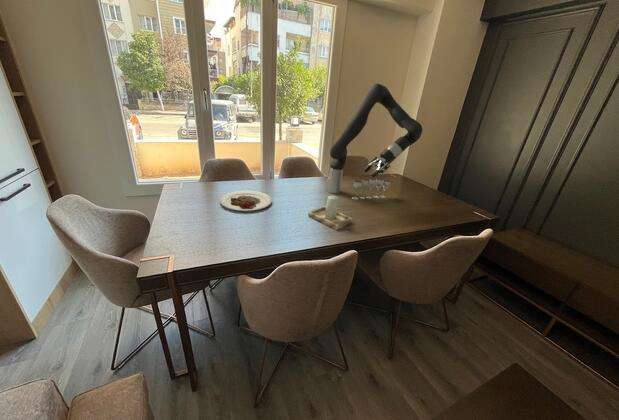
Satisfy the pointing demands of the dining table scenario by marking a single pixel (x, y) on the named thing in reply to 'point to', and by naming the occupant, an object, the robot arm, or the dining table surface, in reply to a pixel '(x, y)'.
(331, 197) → the sage domed cylinder
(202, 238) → the dining table surface
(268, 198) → the plated food
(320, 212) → the tray
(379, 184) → the goblet set
